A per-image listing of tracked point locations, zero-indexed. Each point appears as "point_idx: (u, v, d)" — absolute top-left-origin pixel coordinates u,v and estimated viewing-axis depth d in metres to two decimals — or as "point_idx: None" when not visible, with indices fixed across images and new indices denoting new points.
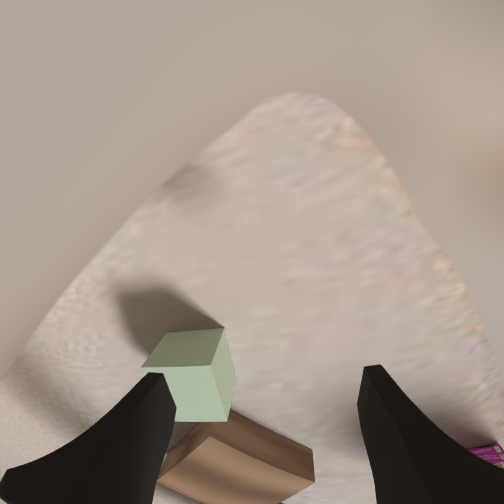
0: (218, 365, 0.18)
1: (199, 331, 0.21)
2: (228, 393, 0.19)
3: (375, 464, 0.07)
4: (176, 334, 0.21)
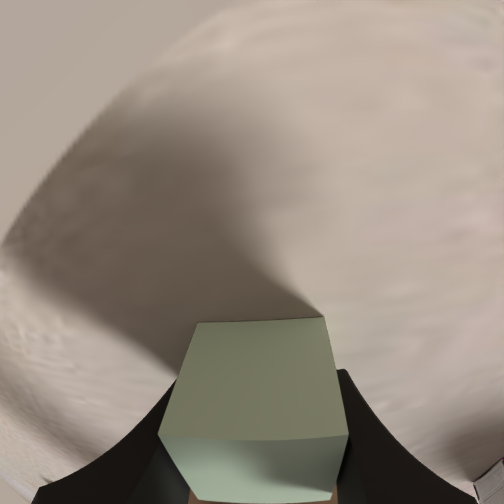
0: None
1: (272, 325, 0.10)
2: None
3: None
4: (222, 330, 0.10)
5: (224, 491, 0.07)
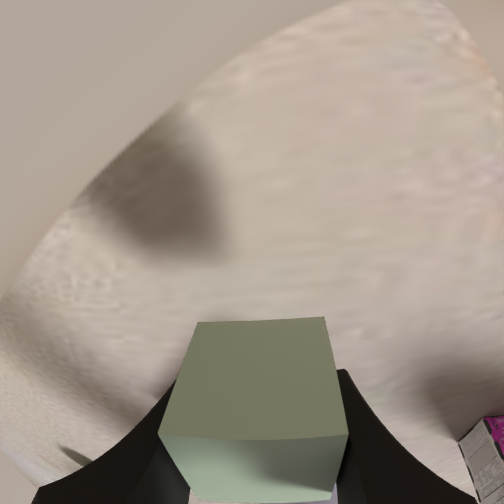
0: None
1: (272, 325, 0.10)
2: None
3: None
4: (222, 330, 0.10)
5: (224, 491, 0.07)
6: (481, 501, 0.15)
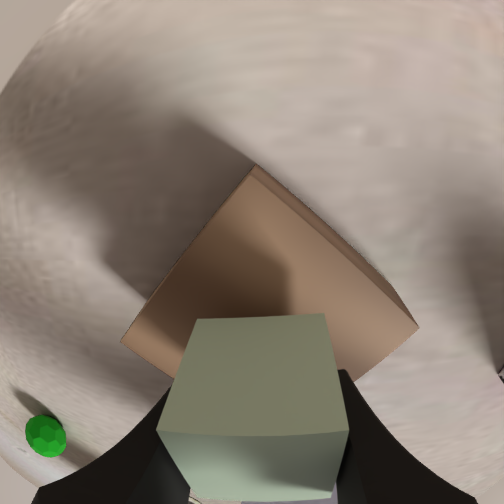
0: None
1: (272, 321, 0.10)
2: None
3: None
4: (221, 326, 0.10)
5: (224, 489, 0.07)
6: None
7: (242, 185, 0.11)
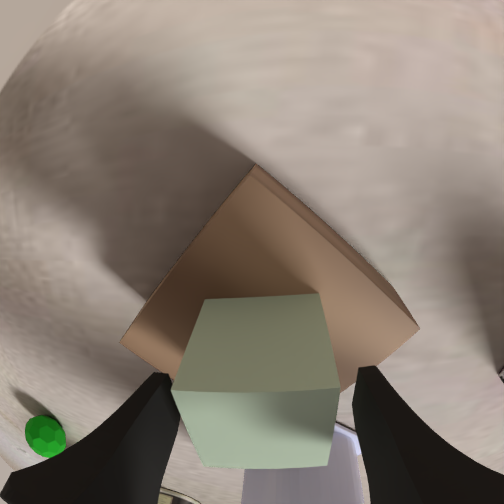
0: None
1: (272, 300, 0.12)
2: None
3: (369, 465, 0.08)
4: (227, 305, 0.12)
5: (229, 454, 0.09)
6: None
7: (242, 185, 0.10)
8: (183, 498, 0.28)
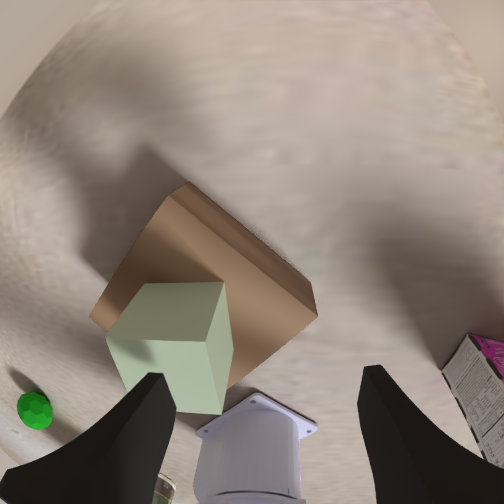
0: (214, 338, 0.13)
1: (189, 285, 0.16)
2: (224, 374, 0.14)
3: (375, 464, 0.07)
4: (157, 287, 0.16)
5: None
6: (479, 441, 0.14)
7: (163, 202, 0.14)
8: None
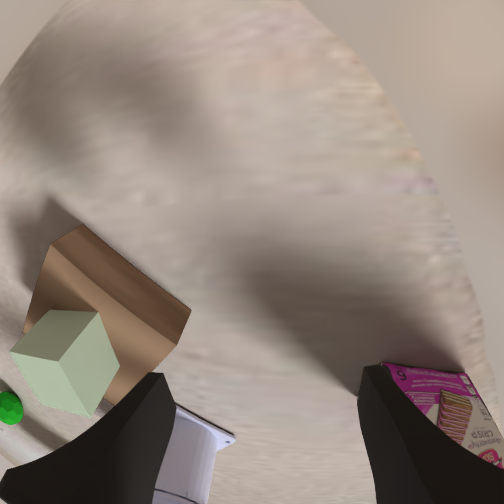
0: (76, 358, 0.14)
1: (74, 313, 0.17)
2: (97, 386, 0.16)
3: (375, 464, 0.07)
4: (55, 314, 0.17)
5: (44, 396, 0.14)
6: None
7: (48, 249, 0.16)
8: None
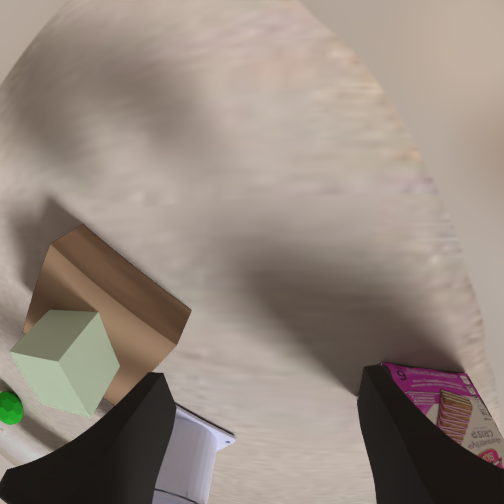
0: (76, 358, 0.14)
1: (74, 313, 0.17)
2: (97, 386, 0.16)
3: (375, 464, 0.07)
4: (55, 314, 0.17)
5: (44, 396, 0.14)
6: None
7: (48, 249, 0.16)
8: None
